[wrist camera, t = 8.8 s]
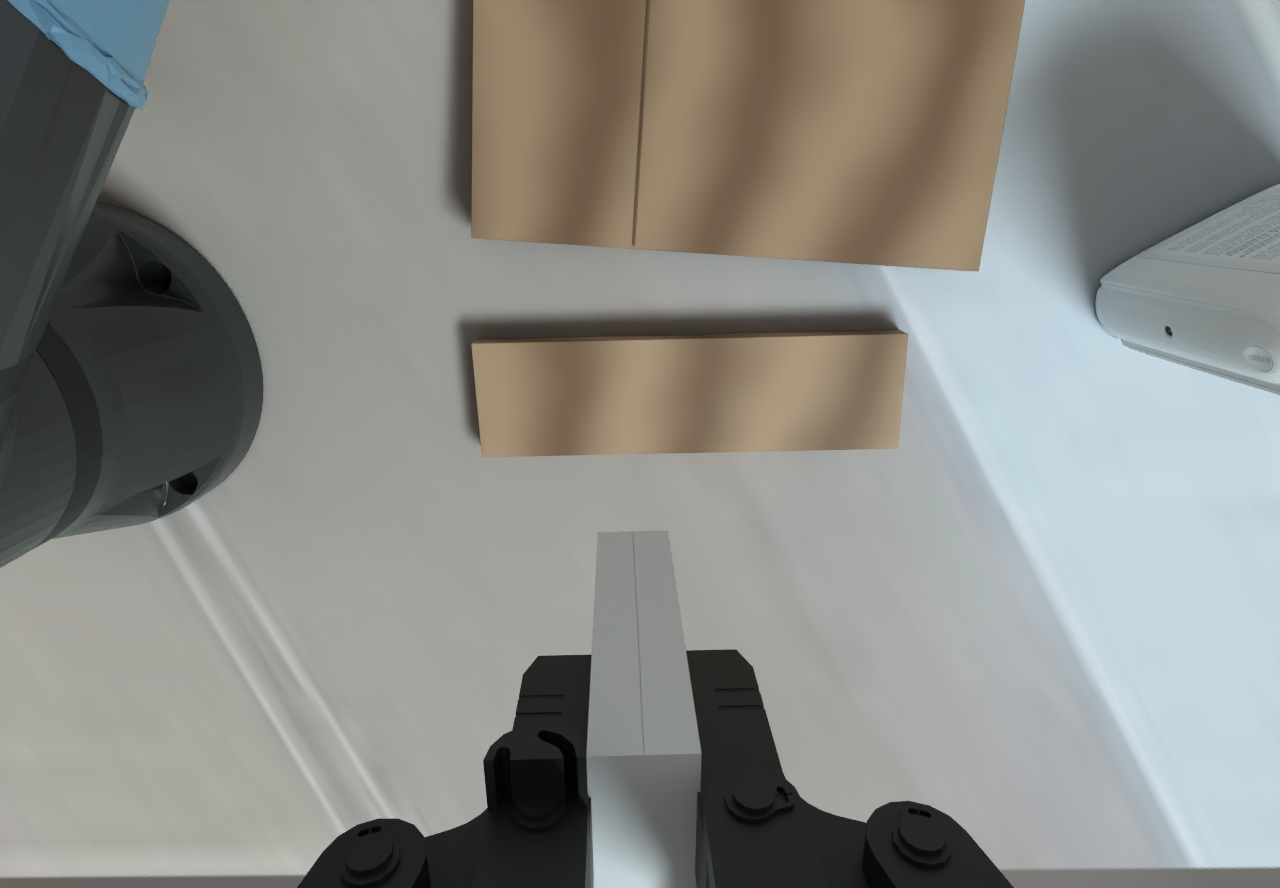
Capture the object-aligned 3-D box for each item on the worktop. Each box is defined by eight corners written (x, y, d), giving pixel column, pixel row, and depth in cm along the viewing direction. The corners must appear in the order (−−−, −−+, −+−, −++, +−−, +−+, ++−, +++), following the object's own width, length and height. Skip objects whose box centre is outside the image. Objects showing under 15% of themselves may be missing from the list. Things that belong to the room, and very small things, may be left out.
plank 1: (477, 238, 33) (470, 237, 31) (480, -41, 30) (473, -53, 29) (966, 270, 33) (979, 271, 32) (1012, -2, 30) (1028, -13, 29)
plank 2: (487, 449, 37) (482, 457, 35) (476, 339, 35) (471, 343, 34) (890, 440, 36) (898, 448, 35) (899, 330, 35) (908, 334, 33)
